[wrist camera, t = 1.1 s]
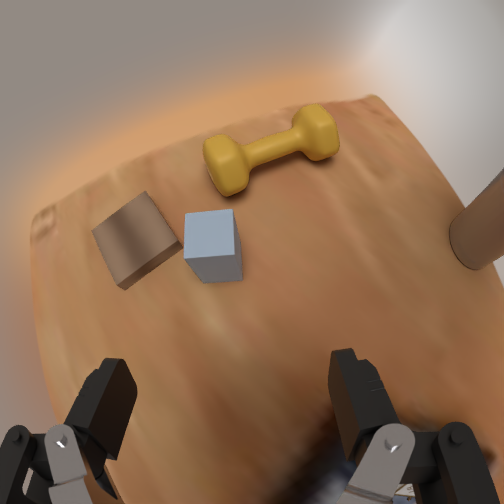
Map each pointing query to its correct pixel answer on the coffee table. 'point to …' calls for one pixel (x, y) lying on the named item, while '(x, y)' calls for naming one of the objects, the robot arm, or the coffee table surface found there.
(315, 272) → the coffee table surface
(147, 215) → the slab
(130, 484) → the coffee table surface
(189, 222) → the pillar
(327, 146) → the dumbbell
